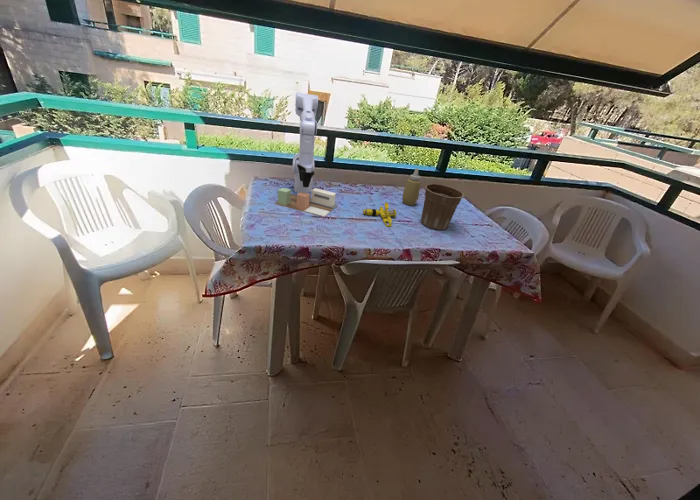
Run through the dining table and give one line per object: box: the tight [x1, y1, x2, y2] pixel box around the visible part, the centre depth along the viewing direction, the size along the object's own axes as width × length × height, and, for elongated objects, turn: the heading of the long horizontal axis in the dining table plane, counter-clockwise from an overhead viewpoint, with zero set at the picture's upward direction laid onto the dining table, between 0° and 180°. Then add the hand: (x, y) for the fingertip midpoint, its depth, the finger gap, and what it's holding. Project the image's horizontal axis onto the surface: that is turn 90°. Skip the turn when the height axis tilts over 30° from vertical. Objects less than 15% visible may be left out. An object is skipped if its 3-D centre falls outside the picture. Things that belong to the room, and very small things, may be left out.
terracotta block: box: [296, 192, 311, 210], centre depth 137 cm, size 4×4×6 cm
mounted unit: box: [309, 187, 338, 210], centre depth 143 cm, size 5×12×6 cm, turn 71°
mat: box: [304, 206, 331, 218], centre depth 136 cm, size 6×9×1 cm, turn 71°
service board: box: [274, 193, 337, 218], centre depth 142 cm, size 15×23×1 cm, turn 71°
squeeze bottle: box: [402, 167, 422, 206], centre depth 160 cm, size 8×8×18 cm
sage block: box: [277, 187, 292, 206], centre depth 138 cm, size 4×4×6 cm
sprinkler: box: [362, 202, 398, 228], centre depth 143 cm, size 19×4×15 cm
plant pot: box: [420, 183, 465, 231], centre depth 141 cm, size 16×16×16 cm
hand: (304, 184), depth 139 cm, fingers open, 7 cm apart
